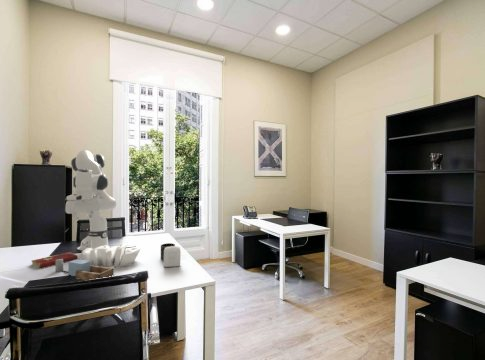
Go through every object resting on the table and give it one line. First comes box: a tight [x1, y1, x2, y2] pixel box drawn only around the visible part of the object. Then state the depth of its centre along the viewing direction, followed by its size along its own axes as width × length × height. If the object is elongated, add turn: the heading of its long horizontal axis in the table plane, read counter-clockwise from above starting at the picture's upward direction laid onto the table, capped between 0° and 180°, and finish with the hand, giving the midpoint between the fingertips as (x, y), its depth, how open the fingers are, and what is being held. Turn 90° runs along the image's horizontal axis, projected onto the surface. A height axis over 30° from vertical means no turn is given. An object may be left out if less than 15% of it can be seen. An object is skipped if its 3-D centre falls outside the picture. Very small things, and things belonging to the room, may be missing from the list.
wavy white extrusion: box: [81, 243, 141, 268], centre depth 160 cm, size 35×16×11 cm, turn 97°
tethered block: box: [55, 258, 90, 277], centre depth 142 cm, size 22×5×8 cm, turn 74°
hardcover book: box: [31, 251, 79, 270], centre depth 160 cm, size 12×21×4 cm, turn 148°
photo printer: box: [163, 245, 181, 268], centre depth 157 cm, size 10×4×12 cm, turn 103°
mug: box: [160, 242, 176, 261], centre depth 171 cm, size 9×12×9 cm
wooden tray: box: [75, 265, 115, 281], centre depth 137 cm, size 16×9×4 cm, turn 74°
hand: (83, 219), depth 148 cm, fingers open, 8 cm apart
